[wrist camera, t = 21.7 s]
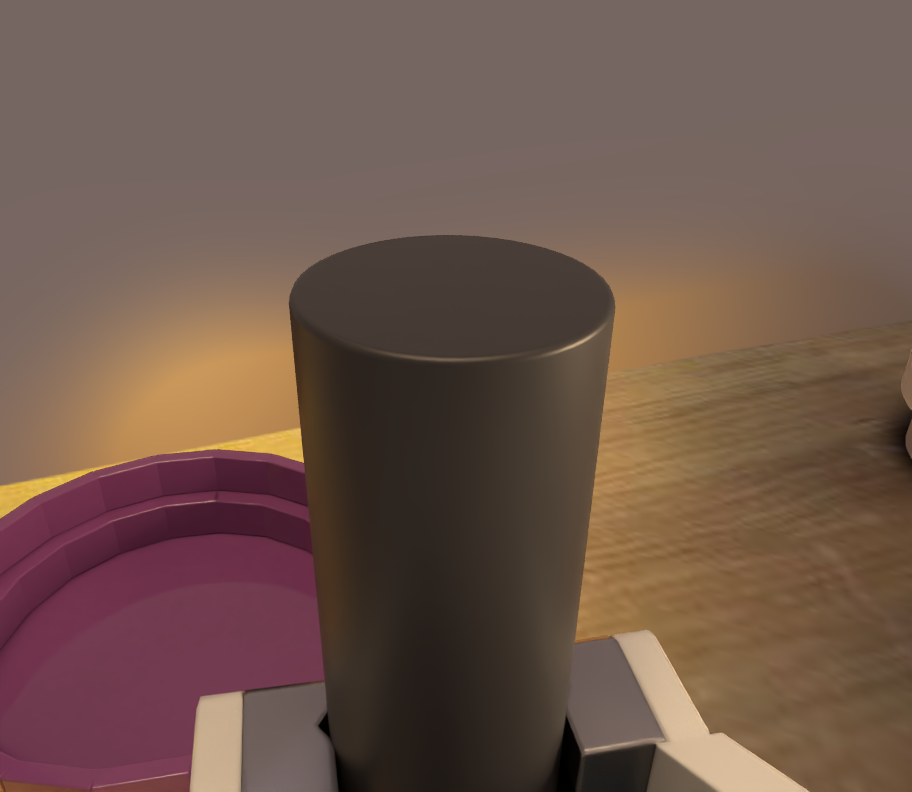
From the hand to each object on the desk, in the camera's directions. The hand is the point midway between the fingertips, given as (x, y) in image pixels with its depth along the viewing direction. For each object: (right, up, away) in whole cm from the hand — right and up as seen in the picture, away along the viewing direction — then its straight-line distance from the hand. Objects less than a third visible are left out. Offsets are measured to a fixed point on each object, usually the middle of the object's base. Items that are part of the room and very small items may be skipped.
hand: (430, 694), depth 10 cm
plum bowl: (-9, -6, +19) cm, 22 cm away
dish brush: (0, -7, +3) cm, 8 cm away
